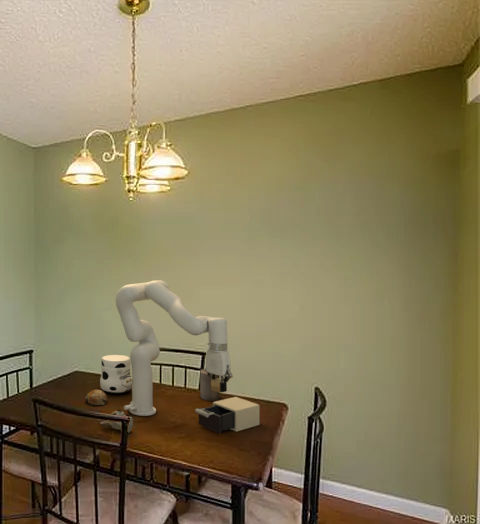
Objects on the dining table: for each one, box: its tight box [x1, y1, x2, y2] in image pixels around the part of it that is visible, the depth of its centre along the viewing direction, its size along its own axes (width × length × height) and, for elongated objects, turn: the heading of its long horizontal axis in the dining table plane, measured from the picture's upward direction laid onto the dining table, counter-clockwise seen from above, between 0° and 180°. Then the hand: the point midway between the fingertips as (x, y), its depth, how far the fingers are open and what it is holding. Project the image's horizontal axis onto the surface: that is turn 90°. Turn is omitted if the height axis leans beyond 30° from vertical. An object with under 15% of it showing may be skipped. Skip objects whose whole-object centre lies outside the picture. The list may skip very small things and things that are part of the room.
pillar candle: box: [199, 368, 221, 402], centre depth 219 cm, size 10×10×15 cm
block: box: [211, 378, 221, 394], centre depth 180 cm, size 4×4×4 cm
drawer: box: [194, 405, 235, 434], centre depth 179 cm, size 18×11×8 cm, turn 120°
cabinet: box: [212, 396, 261, 433], centre depth 185 cm, size 15×13×9 cm
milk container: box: [99, 354, 132, 395], centre depth 231 cm, size 17×17×18 cm
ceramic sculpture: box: [98, 409, 134, 434], centre depth 178 cm, size 11×9×15 cm
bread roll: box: [85, 389, 108, 406], centre depth 213 cm, size 10×10×8 cm
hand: (218, 389), depth 180 cm, fingers closed on block, 4 cm apart
